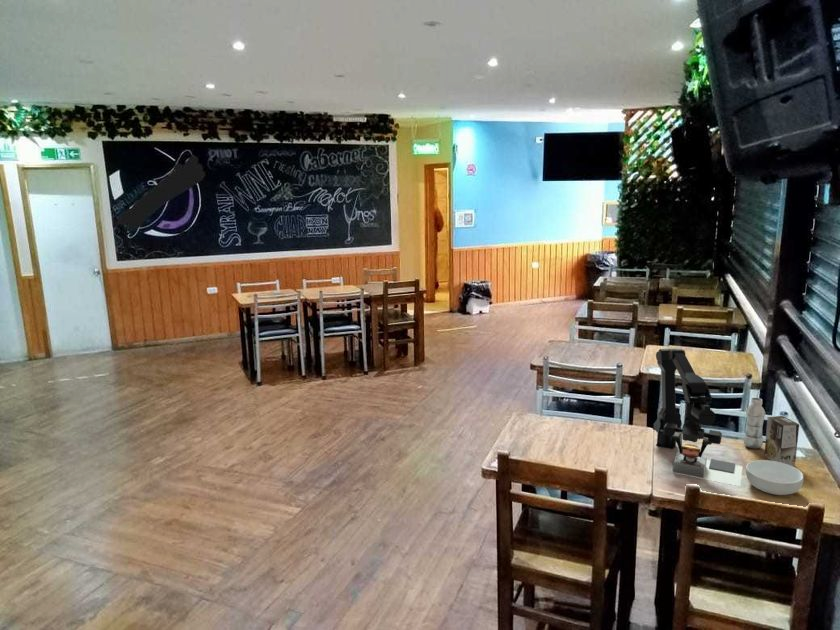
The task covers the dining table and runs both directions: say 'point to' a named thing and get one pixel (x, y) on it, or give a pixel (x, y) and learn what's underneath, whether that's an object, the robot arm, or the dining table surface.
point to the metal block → (689, 465)
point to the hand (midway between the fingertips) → (690, 455)
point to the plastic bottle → (754, 424)
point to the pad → (722, 466)
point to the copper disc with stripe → (690, 452)
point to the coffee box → (781, 440)
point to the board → (722, 475)
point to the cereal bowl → (774, 477)
